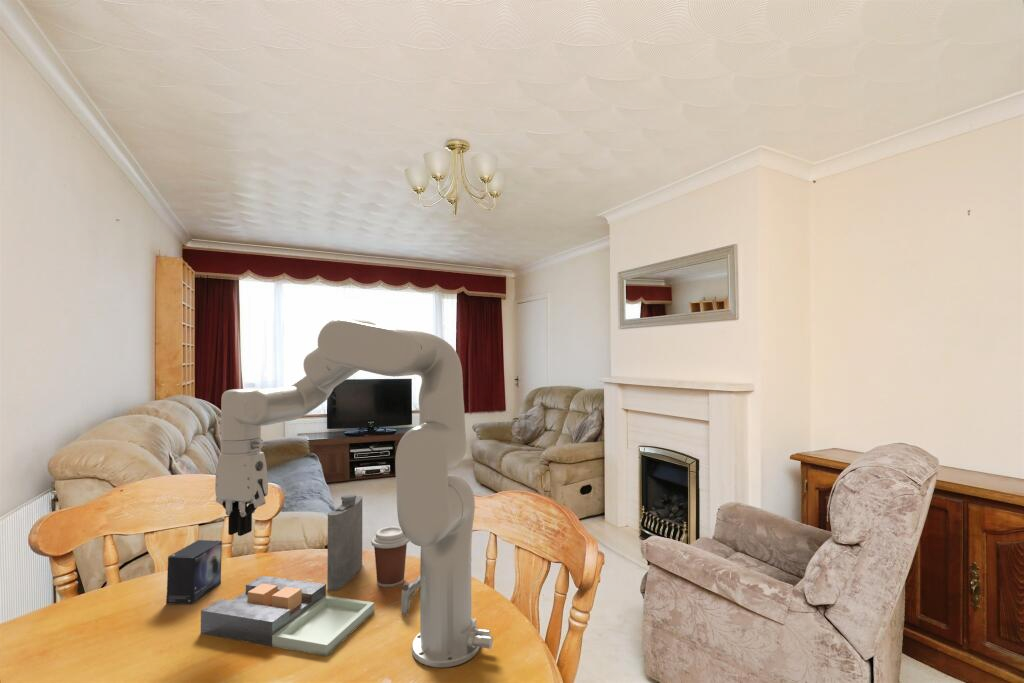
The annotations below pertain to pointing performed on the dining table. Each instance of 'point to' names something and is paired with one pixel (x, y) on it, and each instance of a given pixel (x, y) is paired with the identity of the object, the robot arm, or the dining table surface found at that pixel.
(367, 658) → the dining table surface
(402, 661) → the dining table surface
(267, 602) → the chip
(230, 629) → the slot block
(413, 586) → the caliper
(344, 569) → the hip flask
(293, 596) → the chip
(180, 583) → the small box
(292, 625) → the tray
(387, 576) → the coffee cup
